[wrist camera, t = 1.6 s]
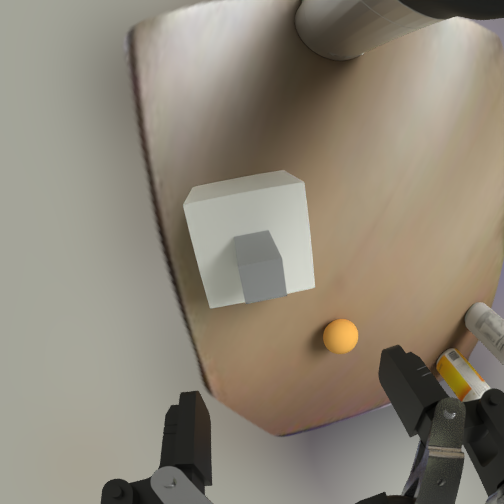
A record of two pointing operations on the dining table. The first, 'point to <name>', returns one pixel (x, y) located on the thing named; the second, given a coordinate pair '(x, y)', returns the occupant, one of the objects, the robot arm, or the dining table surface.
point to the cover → (251, 237)
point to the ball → (340, 336)
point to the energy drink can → (487, 328)
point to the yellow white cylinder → (461, 376)
